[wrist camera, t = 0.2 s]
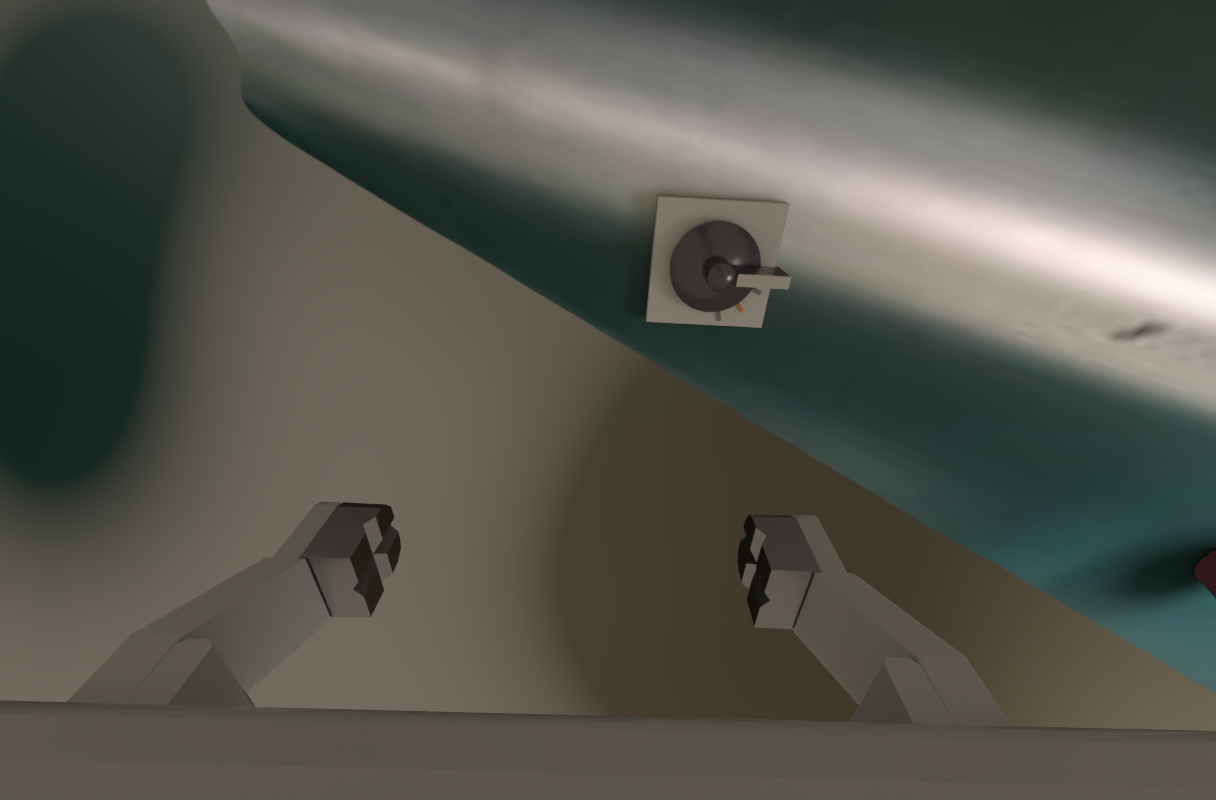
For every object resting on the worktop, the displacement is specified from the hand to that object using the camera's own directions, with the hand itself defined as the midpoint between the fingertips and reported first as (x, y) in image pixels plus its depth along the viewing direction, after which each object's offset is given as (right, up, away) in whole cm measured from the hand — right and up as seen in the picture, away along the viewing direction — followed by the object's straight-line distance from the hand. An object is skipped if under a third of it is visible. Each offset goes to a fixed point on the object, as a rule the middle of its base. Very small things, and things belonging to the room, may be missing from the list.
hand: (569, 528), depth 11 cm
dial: (+14, +18, +42) cm, 48 cm away
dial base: (+13, +19, +44) cm, 49 cm away
